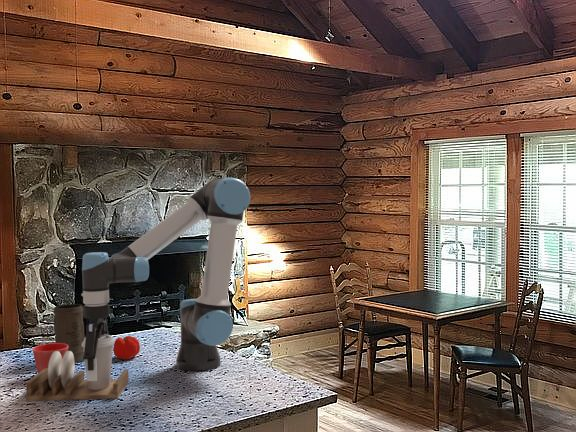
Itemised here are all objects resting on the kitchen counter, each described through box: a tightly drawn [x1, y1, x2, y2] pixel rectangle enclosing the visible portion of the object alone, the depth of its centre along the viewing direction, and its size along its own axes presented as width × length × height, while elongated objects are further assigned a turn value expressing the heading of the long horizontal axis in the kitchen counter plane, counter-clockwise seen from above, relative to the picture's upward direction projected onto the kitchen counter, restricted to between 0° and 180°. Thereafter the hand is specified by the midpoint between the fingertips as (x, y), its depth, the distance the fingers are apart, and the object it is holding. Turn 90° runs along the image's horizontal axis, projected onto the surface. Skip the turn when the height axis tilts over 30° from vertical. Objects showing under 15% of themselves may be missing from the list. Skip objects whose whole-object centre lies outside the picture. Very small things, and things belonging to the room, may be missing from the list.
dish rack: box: [25, 351, 130, 402], centre depth 189 cm, size 26×15×12 cm, turn 92°
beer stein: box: [53, 303, 85, 364], centre depth 226 cm, size 15×11×20 cm
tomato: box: [112, 335, 141, 360], centre depth 227 cm, size 9×9×8 cm
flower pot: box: [32, 342, 69, 374], centre depth 205 cm, size 11×11×10 cm
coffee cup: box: [81, 334, 115, 390], centre depth 189 cm, size 10×10×15 cm
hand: (97, 374), depth 189 cm, fingers open, 13 cm apart
